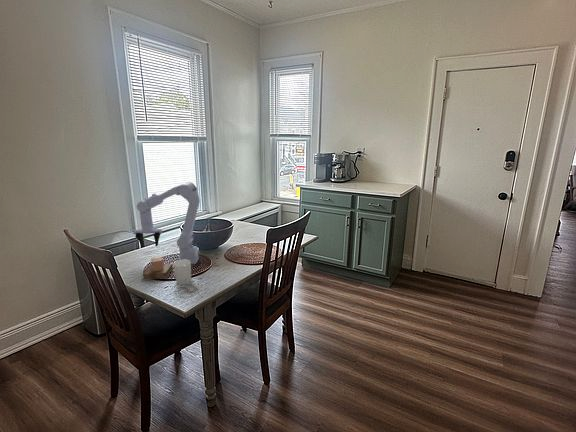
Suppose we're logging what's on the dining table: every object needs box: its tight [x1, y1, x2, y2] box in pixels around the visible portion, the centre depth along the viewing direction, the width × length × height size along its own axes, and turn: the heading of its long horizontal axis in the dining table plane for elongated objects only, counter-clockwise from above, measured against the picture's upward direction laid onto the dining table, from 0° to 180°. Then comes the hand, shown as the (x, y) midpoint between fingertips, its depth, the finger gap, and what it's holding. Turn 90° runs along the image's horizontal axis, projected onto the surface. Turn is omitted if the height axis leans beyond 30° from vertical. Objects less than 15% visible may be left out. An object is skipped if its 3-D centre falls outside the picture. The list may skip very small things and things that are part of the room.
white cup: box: [172, 259, 192, 286], centre depth 151 cm, size 8×8×10 cm
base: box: [142, 263, 174, 280], centre depth 161 cm, size 11×11×3 cm
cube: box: [150, 256, 164, 271], centre depth 160 cm, size 5×5×5 cm
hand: (149, 245), depth 174 cm, fingers open, 7 cm apart
